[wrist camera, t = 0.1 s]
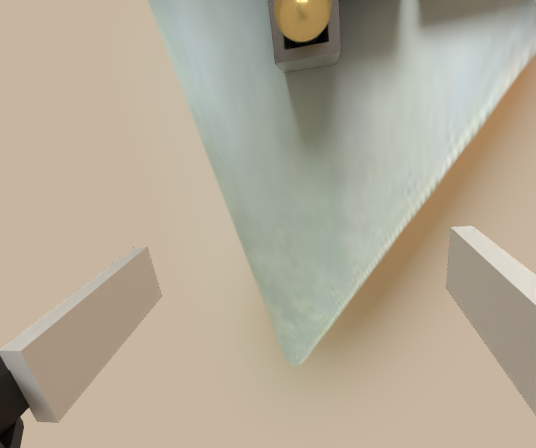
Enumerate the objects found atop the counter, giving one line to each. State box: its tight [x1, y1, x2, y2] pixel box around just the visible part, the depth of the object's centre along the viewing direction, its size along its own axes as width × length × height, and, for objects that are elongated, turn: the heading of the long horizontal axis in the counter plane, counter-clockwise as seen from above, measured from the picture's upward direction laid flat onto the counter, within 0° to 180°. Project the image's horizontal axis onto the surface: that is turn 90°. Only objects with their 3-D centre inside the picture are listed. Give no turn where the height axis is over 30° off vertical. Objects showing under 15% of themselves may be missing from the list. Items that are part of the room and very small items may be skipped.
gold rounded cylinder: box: [274, 0, 332, 46], centre depth 26 cm, size 4×4×7 cm
